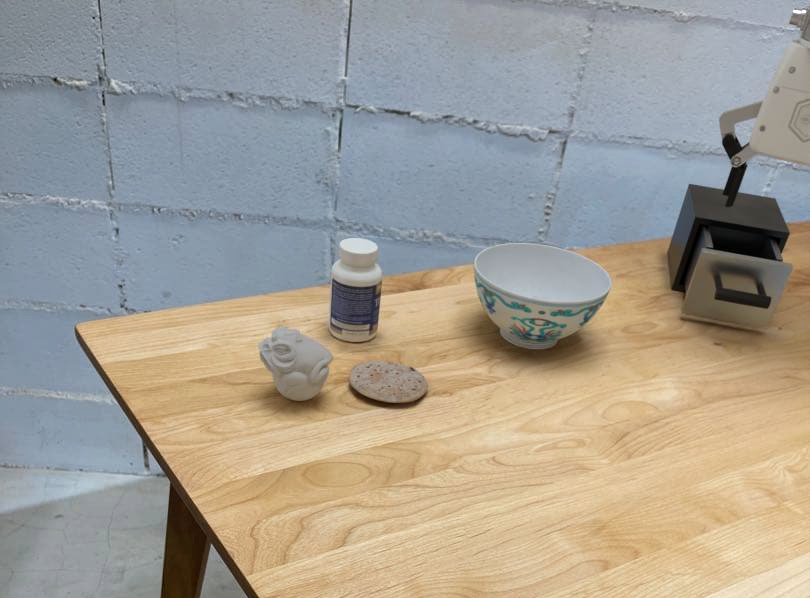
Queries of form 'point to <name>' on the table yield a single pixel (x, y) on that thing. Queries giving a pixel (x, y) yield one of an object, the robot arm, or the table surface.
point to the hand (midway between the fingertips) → (774, 214)
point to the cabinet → (721, 223)
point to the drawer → (734, 276)
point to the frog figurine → (295, 363)
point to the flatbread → (388, 382)
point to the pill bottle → (355, 291)
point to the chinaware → (538, 291)
